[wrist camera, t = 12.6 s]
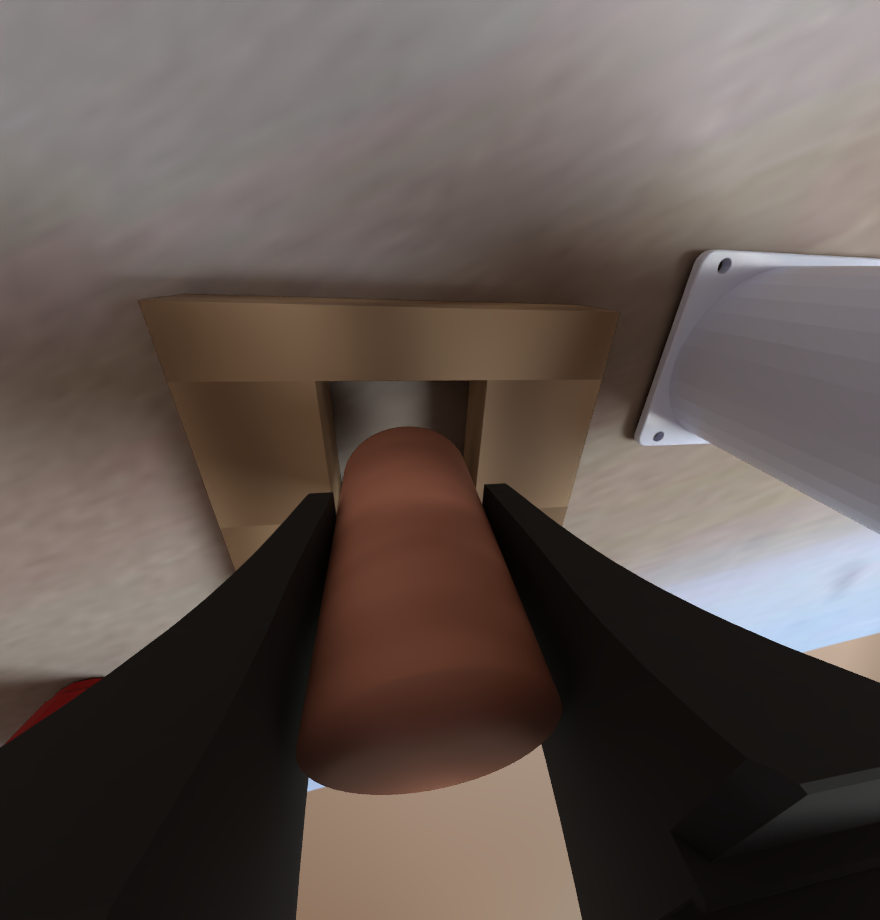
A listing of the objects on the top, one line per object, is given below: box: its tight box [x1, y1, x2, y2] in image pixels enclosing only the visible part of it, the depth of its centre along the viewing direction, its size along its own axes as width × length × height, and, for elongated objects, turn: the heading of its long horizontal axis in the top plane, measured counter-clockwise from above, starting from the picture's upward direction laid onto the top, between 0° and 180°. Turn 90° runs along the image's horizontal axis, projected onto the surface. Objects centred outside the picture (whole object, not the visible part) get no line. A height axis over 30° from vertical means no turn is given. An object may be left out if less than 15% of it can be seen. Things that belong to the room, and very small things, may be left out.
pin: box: [296, 426, 562, 795], centre depth 8 cm, size 4×4×7 cm
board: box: [138, 294, 620, 571], centre depth 15 cm, size 14×18×2 cm
